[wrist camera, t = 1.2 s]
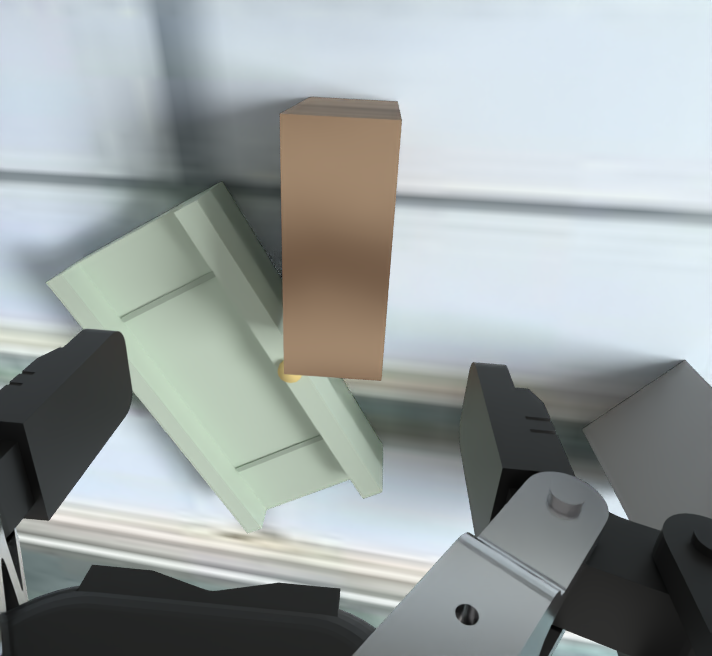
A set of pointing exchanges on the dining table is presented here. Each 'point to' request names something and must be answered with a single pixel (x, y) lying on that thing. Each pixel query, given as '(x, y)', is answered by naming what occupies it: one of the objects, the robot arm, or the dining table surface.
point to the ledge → (222, 358)
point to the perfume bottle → (659, 448)
